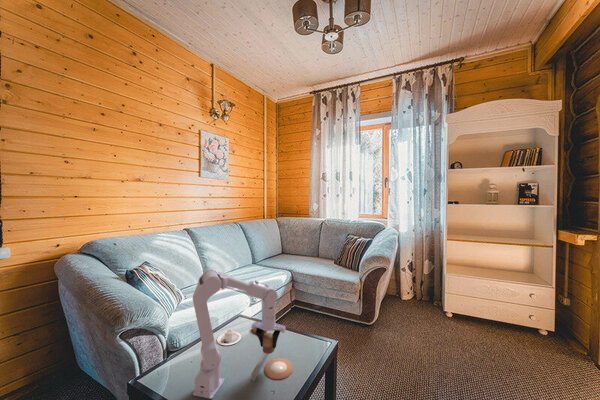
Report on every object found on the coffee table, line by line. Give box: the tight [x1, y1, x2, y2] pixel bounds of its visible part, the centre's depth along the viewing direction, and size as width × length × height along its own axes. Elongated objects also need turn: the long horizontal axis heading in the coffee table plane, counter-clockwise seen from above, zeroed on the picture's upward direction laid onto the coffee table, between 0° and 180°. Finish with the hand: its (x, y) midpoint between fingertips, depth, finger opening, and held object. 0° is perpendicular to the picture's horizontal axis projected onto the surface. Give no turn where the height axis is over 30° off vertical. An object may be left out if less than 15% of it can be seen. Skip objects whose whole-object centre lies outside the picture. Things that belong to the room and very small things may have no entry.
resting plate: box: [264, 357, 294, 380], centre depth 105 cm, size 12×12×1 cm
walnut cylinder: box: [262, 332, 275, 355], centre depth 106 cm, size 5×5×6 cm
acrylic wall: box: [251, 351, 269, 382], centre depth 106 cm, size 18×1×3 cm, turn 168°
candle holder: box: [216, 328, 242, 346], centre depth 126 cm, size 12×12×4 cm
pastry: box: [250, 320, 268, 334], centre depth 133 cm, size 9×7×4 cm
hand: (268, 346), depth 106 cm, fingers closed on walnut cylinder, 5 cm apart
